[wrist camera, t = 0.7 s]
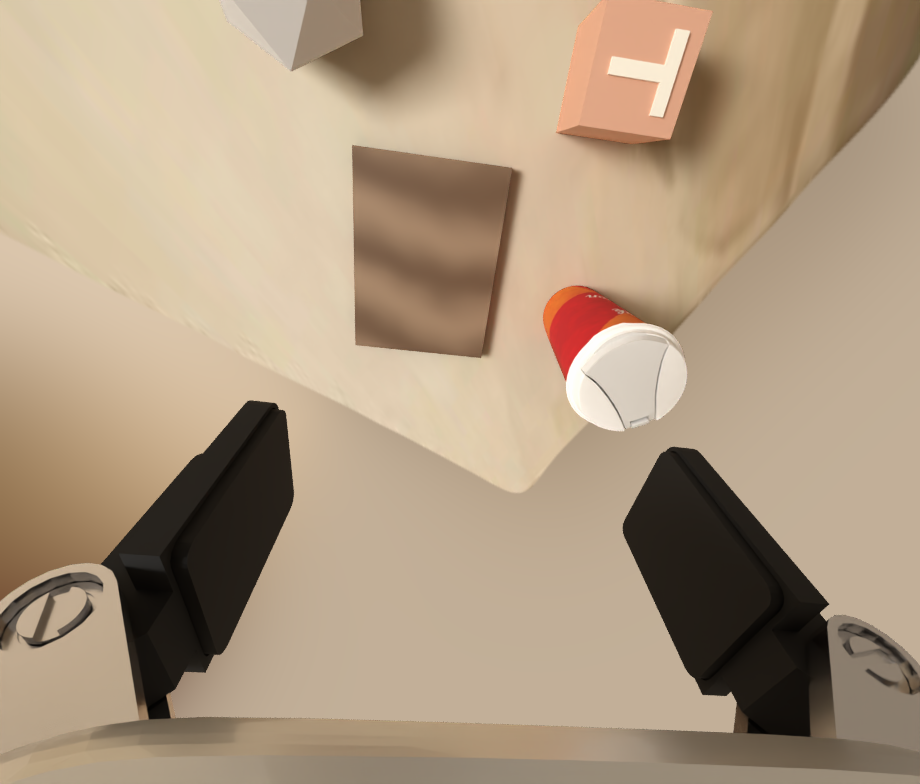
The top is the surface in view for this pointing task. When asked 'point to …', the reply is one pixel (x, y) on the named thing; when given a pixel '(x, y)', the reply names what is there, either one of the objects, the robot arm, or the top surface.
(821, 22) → the top surface
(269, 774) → the robot arm
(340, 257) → the top surface
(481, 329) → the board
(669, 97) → the lettered cube
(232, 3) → the die
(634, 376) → the paper cup
